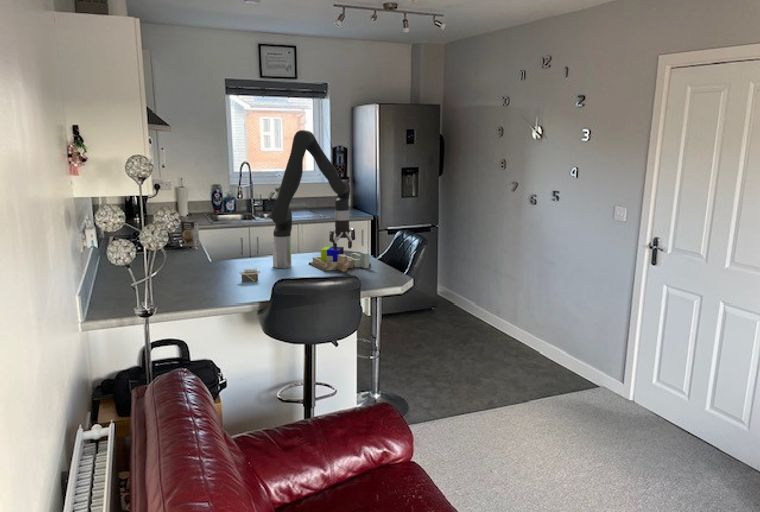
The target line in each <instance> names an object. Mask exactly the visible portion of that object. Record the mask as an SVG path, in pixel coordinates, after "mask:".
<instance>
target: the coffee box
mask: <svg viewBox="0 0 760 512" xmlns="http://www.w3.org/2000/svg"><path fill="white" fill-rule="evenodd" d="M180 226H181V227H180V228H181V229H180V230H181V246H182V247H197V246H200V232H199V231H200V230H199V220H190V219H189V220H188V219H186V220H181V221H180Z"/></svg>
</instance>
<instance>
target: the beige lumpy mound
mask: <svg viewBox="0 0 760 512" xmlns="http://www.w3.org/2000/svg"><path fill="white" fill-rule="evenodd" d="M345 255H346V254H345ZM345 255H342V254H340V255H338V262H329V263H326V262H324V261H322V260H321V256H313V257H312V262H313V264H315V265H317V266H320V267H322V268H324V269H325V272H326V271H335V270H338V271H340V272H347V271H348V269H350V268H351V269H353V268H352V267H353V260H351V259H348V258H347V256H348V255H346V256H345Z"/></svg>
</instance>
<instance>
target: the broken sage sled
mask: <svg viewBox="0 0 760 512" xmlns="http://www.w3.org/2000/svg"><path fill="white" fill-rule="evenodd" d="M344 255H345V256H347V258H348V259H351V260H353V265H354V268H359V267H361V268H363V269H368V268H370V266H369V263H370V258H369V257H370V254H369V253H368V252H365V251H360V252H359V253H356V252H352V253H351V252H350V256H348V255H346V254H345V253H344Z"/></svg>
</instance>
